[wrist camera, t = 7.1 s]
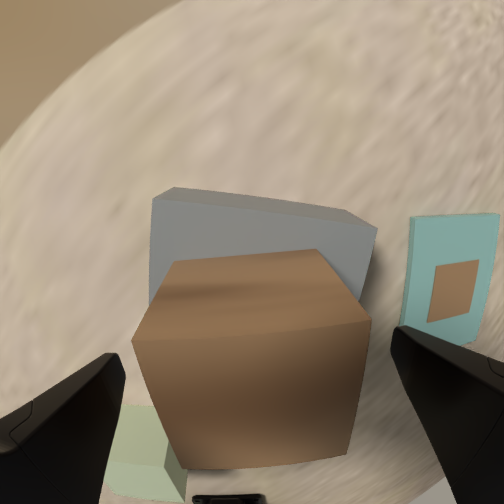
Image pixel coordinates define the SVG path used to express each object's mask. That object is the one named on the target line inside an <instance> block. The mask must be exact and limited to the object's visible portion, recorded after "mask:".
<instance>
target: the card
mask: <svg viewBox="0 0 504 504" xmlns="http://www.w3.org/2000/svg"><path fill="white" fill-rule="evenodd" d="M499 220H500V215H499V214H496V213H484V214H459V215H438V216H418V217H410V236H409V250H408V262H407V272H406V281H405V289H404V297H403V304H402V311H401V317H400V324H399V326H403V325H407V326H410V327H412V328H415V329H417V330H420V331H423V332H425V333H428V334H430V335H433V336H435V337H438V338H440V339H443V340H446V341H448V342H451V343H453V344H456V345H458V346H460V345H463V344H466V343H469V342H472V341H475V340H476V337H477V333H478V330H479V326H480V323H481V319H482V316H483V312H484V308H485V304H486V299H487V295H488V291H489V286H490V281H491V276H492V271H493V265H494V259H495V253H496V246H497V238H498V230H499Z"/></svg>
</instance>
